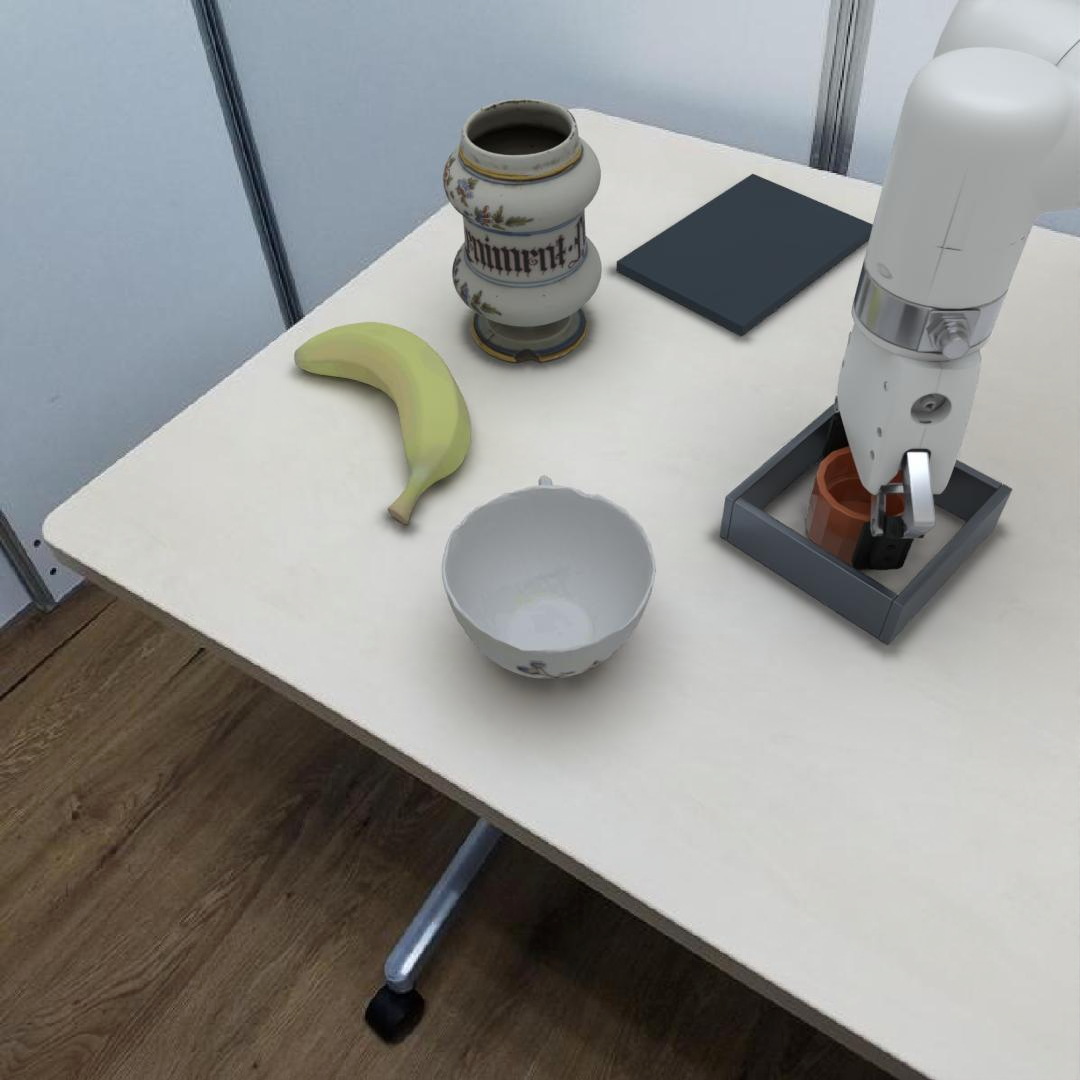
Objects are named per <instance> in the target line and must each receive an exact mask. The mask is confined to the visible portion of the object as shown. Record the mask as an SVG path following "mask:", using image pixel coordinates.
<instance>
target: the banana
mask: <svg viewBox="0 0 1080 1080" xmlns="http://www.w3.org/2000/svg"><path fill="white" fill-rule="evenodd" d="M293 360H294V364H295V365H296V367H298V368H299V369H302V370H304V371H307V372H309V373H311V374H316V375H322V376H329V377H337V378H343V379H349V380H354V381H357V382H361V383H364V384H366V385H369V386H372V387H374V388H376V389H378V390H379V391H382V392H383V393H385V394H386V395H387V396H388V397H389V398H390V399H392V400H393V401H394V403H395V405H396V407H397V411H398V415H399V422H400V429H401V435H402V442H403V447H404V452H405V457H406V461H407V464H408V466H409V468H410V472H411V473H410V476H409V479H408V482H407V483H406V487H405V489H404V490H403V491H402V492H401V494H400V495H399V496H398V498H396V499H395V500H394V502H392V503H391V504H390V505H389V506H388V507H387V511H388V513H389V514H390V515H391V516H392V517H393V518H394V519H396V521H398V522H399V523H402V524H404V525H408V524H409V521H410V517H411V515H412V514H411V513H412V512H413V508H414V506H415V504H416V503H417V501H418V499H419V498H420V497H421V495H422V494H423V493H425V491H426V490H427V489H428V488H430V487H431V486H432V485H434V483H436V482H438V481H440V480H442V479H444V478H447V477H448V476H449V475H451V474H452V473H454V472H455V471H456V470H457V469H458V468H459V467H460V466H461V465H462V463H463V462H464V460H465V459H466V456H467V454H468V452H469V448H470V444H471V440H472V428H471V418H470V413H469V408H468V406H467V403H466V400H465V398H464V395H463V393H462V390H461V389H460V387H459V385H458V383H457V381H456V379H455V378H454V376H453V374H452V372H451V370H450V369H449V367H448V365H447V364H446V362H445V361H444V359H443V358H442V357H441V356H440V355H439V353H438V352H437V351H436V350H435V349H434V348H433V347H432V346H431V345H430V344H429V343H428V342H426V341H425V340H424V339H422V338H421V337H419V336H418V335H416V334H415V333H414V332H411V331H409V330H407V329H405V328H402V327H400V326H397V325H393V324H390V323H385V322H384V323H383V322H378V321H366V322H358V323H357V322H356V323H349V324H343V325H339V326H336V327H333V328H330V329H327V330H325V331H323V332H321V333H319V334H316V335H314V336H312V337H311V338H309V339H308V340H307V341H305V342H304V343H303V344H302V345H300V346H299V347H297V348H296V350H294V354H293Z"/></svg>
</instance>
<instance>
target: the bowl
mask: <svg viewBox="0 0 1080 1080" xmlns="http://www.w3.org/2000/svg"><path fill="white" fill-rule="evenodd" d="M890 482H902V473H901V470H898V473H897V475H896V476H895V477H894V478H893V479H892V480H891V481H890ZM904 509H905V501H904V494H886V508H885V516H901V515H902V514H903V513H904ZM870 514H871V493H870V492H869V491H868V490H867V489H866V488H865V487H864V486H863V484H862V482H861V480H860V477H859V474H858V471H857V468H856V465H855V462H854V459H853V455H852V452H851V449H850V446H848V447H845V448H842V449H839V450H836V451H833V452H832V453H831V454H830V455H828V456H827V457H826V458H825V459H823V460H821V461H820V463H819V465H818V470H817V472H816V475H815V479H814V483H813V487H812V491H811V496H810V499H809V504H808V507H807V513H806V516H805V519H804V523H805V527H806V531H807V535H808V538H809V540H811V541H812V542H814V543H816V544H817V545H819V546H820V547H822V548H824V549H825V550H827V551H828V552H830V553H832V554H833V555H835V556H837V557H838V558H840V559H841V560H843V561H845V562H846V563H848V564H850V565H851V566H852V562H851V560H852V557H853V554H854V551H855V548H856V544H857V541H858V538H859V535H860V532H861V529H862V526H863V523H864V522H868V521H870Z"/></svg>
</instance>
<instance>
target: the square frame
mask: <svg viewBox="0 0 1080 1080" xmlns="http://www.w3.org/2000/svg"><path fill="white" fill-rule="evenodd" d="M832 415H840V413H836V412H835V409H834V403H832V404H831V405H830V406H829V407H828V408H827V409H826V410H824V411H823V412H822V413H821V414H820V415H819V416H817V417H816V418H815V419H814V420H813V421H812V422H810V423H809V424H808V425H806V427H804V429H802V430H801V431H800V432H799V433H798V434H797V435H796V436H794V437H793V438H792V439H790V441H788V442H787V443H786V444H785V445H784V446H783V447H782V448H780V449H779V450H778V451H777V452H775V454H773V456H771V457H770V458H769V459H767V460H766V461H765V462H764V463H762V464H761V465H760V466H759V467H758V468H757V469H755V471H754V472H752V473H751V474H750V475H749V476H748V477H746V479H744V480H743V481H742V482H741V483H740V484H739V485H738V486H736V487H735V488H734V489H732V490H731V491H730V492H729V493H728V494H727V495H726V496H725V498H724V505H723V511H722V515H721V516H722V518H721V524H720V531H719V537H720V538H722V539H724V540H725V541H727V542H728V543H730V544H731V545H733V546H734V547H736V548H737V549H739V550H740V551H742V552H744V553H745V554H746V555H748V556H750V557H751V558H753V559H754V560H756V561H757V562H759V563H760V564H762V565H763V566H766V567H767V568H768V569H770V570H772V571H773V572H774V573H776V574H778V575H779V576H781V577H782V578H784V579H785V580H787V581H789V582H790V583H791V584H792V585H795V586H796V587H798V588H799V589H800V590H802V591H804V592H805V593H807V594H808V595H810V596H811V597H813V598H815V599H816V600H818V601H819V602H820V603H822V604H823V605H825V606H827V607H828V608H829V609H832V610H833V611H835V612H836V613H838V614H839V615H841V616H843V617H844V618H846V619H847V620H849V621H850V622H852V623H854V624H855V625H856V626H858V627H859V628H861V629H863V630H864V631H866V632H867V633H869V634H870V635H872V636H873V637H875V638H877V639H878V640H879V641H880V642H882V643H884V644H886V645H887V646H889V645H890V644H891V642H893V641H894V639H895V638H896V637H897V636H898V635H899V634H900V633H901V632H902V631H903V630H904V629H905V627H906V626H907V625H908V624H909V623H910V622H911V621H912V620H913V618H914V617H915V616H916V615H917V614H918V613H919V612H920V611H921V610H922V608H923V607H924V606H925V605H926V604H927V603H928V602H929V601H930V600H931V599H932V598H933V597H934V596H935V595H936V594H937V593H938V591H939V590H940V589H941V588H942V587H943V585H944V584H946V582H947V581H948V580H949V579H950V578H951V577H953V575H954V574H955V573H956V571H957V570H958V569H960V567H961V566H962V565H963V564H964V563H965V562H966V561H967V559H968V558H969V557H970V556H972V554H973V553H974V552H975V550H977V548H979V546H980V545H981V544H982V543H983V542H984V541H985V540H986V538H987V537H988V536H989V535H990V534H991V533H992V532H993V531H995V528H996V526H997V524H998V522H999V520H1000V518H1001V515H1002V513H1003V511H1004V509H1005V507H1006V505H1007V502H1008V501H1009V498H1010V496H1011V494H1012V492H1013V488H1012V487H1010V486H1008V485H1006V484H1004V483H1003V482H1000V481H998V480H996V479H995V478H993V477H991V476H989V475H987V474H985V473H984V472H982V471H980V470H978V469H975V468H974V467H972V466H970V465H968V464H966V463H964V462H962V461H960V460H959V459H957V460H956V462H955V465H954V468H953V471H952V474H951V476H950V479H949V482H948V484H947V486H946V488H945V489H944V491H943V492H942V493H941V494H933V500H934V505H936V506H939V507H940V508H942V509H944V510H945V511H948V512H950V513H952V514H953V515H955V516H957V517H958V518H961V519H962V520H964V521H966V522H965V524H964V525H963V526H961V528H960V529H959V530H958V531H957V532H956V533H955V535H953V536H952V537H951V538H950V540H948V542H947V543H946V544H945V545H944V546H943V547H942V548H941V549H940V550H939V551H938V552H937V553H936V554H935V555H934V557H932V559H931V560H930V561H929V562H928V563H927V564H926V565H925V566H924V568H922V570H921V571H920V572H919V573H918V574H917V575H916V576H914V578H913V579H912V580H911V581H910V582H909V583H908V584H907V585H906V587H904V589H903V590H902V591H900V593H897V592H895V591H893V590H892V589H891V588H888V587H887V586H885V585H884V584H882V583H881V582H879V581H877V580H875V578H873V577H870V576H869V575H867V574H866V573H864V572H862V570H858V569H856V568H854V567H853V566H852V565H850V564H848V563H846V562H845V561H843V560H841V559H840V558H838V557H837V556H835V555H833V554H832V553H830V552H828V551H827V550H825V549H824V548H822V547H820V546H819V545H817V544H816V543H814V542H813V541H812V540H811V539H810V538H808V537H806V536H804V535H803V534H801V533H799V532H798V531H796V530H794V529H793V528H791V527H790V526H788V525H786V524H785V523H783V522H781V521H779V520H778V519H777V518H775V517H773V516H772V515H770V514H768V513H767V512H766V511H764V510H763V509H764V508H766V506H767V505H769V504H770V503H771V502H772V501H774V499H776V497H778V496H779V495H780V494H781V493H782V492H783V491H784V490H785V489H787V488H788V487H789V486H790V485H791V484H792V483H793V482H795V480H797V479H798V478H799V477H800V476H801V475H802V474H803V473H805V472H806V471H807V470H808V469H809V468H810V467H811V466H812V465H813V464H814V463H816V462H817V461H818V460H819V459H820V458H821V457H823V455H822V453H823V449H824V445H825V442H826V438H827V434H828V430H829V426H830V422H831V419H832Z"/></svg>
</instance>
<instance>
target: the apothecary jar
mask: <svg viewBox="0 0 1080 1080" xmlns="http://www.w3.org/2000/svg"><path fill="white" fill-rule="evenodd" d="M601 178H602V170H601V165H600V161H599V159H598V156H597V154H596V152H595V151H594V150H593V148H592V147H591V146H590V145H589V144H588V143H587V141H585V140H584V139H583V138H582V137H581V136H579V128H578V124H577V121H576V119H575V116H574V114H572V113H571V111H570V110H569V109H567V108H565V107H564V106H562V105H561V104H559V103H556V102H553V101H549V100H544V99H538V98H529V97H528V98H527V97H525V98H524V97H523V98H510V99H504V100H499V101H496V102H492V103H490V104H487V105H484V106H483V107H480V108H479V109H476V110H475V111H474V112H473V113H472V114H470V115H469V116H468V117H467V119H466V120H465V121H464V123H463V125H462V127H461V132H460V142H459V143H458V145H457V146H455V148H454V149H453V151H452V152H451V154H450V155H449V157H448V158H447V161H446V163H445V165H444V168H443V175H442V184H443V190H444V192H445V196H446V198H447V200H448V202H449V203H450V204H451V206H452V208H454V209H455V211H456V212H458V214H460V215H461V216H462V222H463V233H464V235H463V236H464V242H463V243H462V245H460V247H459V248H458V250H457V252H456V254H455V257H454V259H453V263H452V268H451V269H452V271H451V277H452V282H453V286H454V289H455V291H456V293H457V295H458V296H459V298H460V299H461V301H462V302H463V303H464V304H465V305H466V306H467V307H468V308H469V309H470V310H472V311H473V312H475V313H474V314H473V316H472V318H471V322H470V332H471V336H472V337H473V340H474V342H475V343H476V344H477V346H478V347H479V348H480V349H481V350H483V352H485V353H486V354H488V355H490V356H491V357H493V358H496V359H499V360H503V361H505V362H510V363H519V362H523V361H528V360H533V361H536V362H539V363H544V362H549V361H552V360H556V359H558V358H561V357H564V356H566V355H567V354H569V353H570V352H572V351H573V350H575V349H576V348H577V346H579V345H580V344H581V342H582V341H583V340H584V338H585V337H586V334H587V328H588V322H587V318H586V315H585V313H584V311H583V309H582V308H583V307H584V306H585V305H586V304H587V303H588V302H589V301H590V299H592V297H593V296H594V295H595V293H596V291H597V290H598V287H599V285H600V282H601V278H602V274H603V273H602V271H603V267H602V261H601V260H602V259H601V256H600V253H599V251H598V249H597V247H596V246H595V244H594V243H593V242H592V240H591V239H590V238H589V237H588V236H587V234H586V215H585V214H586V212H585V211H586V208H588V206H589V205H590V204H591V202H593V200H594V198H595V196H596V195H597V193H598V191H599V188H600V184H601V180H602V179H601Z"/></svg>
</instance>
